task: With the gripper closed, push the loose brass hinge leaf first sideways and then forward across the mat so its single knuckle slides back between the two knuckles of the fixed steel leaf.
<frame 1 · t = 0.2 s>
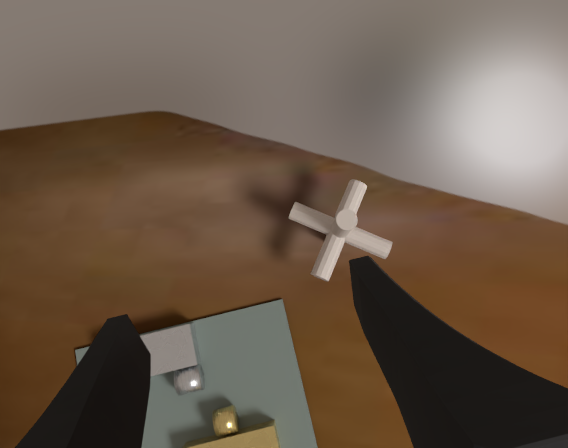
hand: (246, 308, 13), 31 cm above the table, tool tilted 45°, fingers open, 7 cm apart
pipe connector: (334, 238, 45), on the table
brass leaf: (227, 417, 41), resting on mat
steel leaf: (160, 385, 42), resting on mat
mat: (200, 434, 41), on the table
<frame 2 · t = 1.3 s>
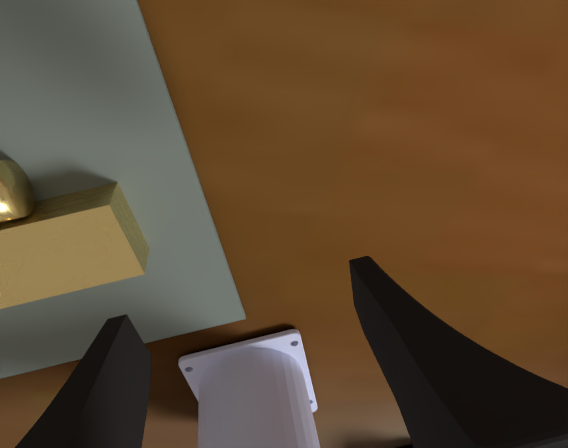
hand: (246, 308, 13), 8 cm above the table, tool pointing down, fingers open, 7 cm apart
brass leaf: (4, 180, 18), resting on mat
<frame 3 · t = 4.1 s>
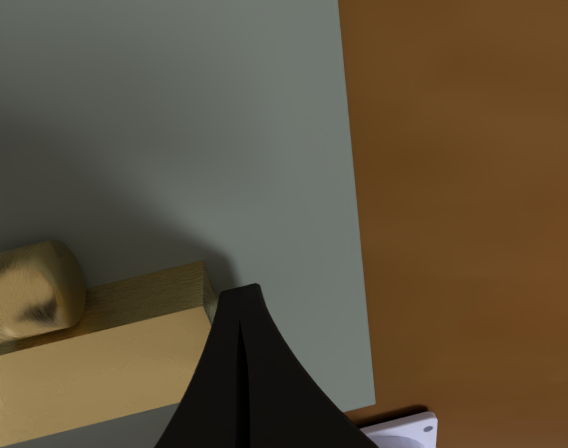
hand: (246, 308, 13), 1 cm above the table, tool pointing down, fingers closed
brass leaf: (41, 263, 12), resting on mat, touching gripper
mat: (17, 292, 13), on the table
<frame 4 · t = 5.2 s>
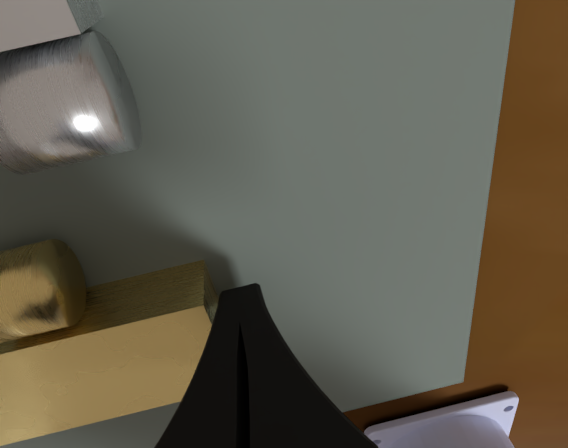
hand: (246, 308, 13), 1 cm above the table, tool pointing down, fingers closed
brass leaf: (41, 262, 12), resting on mat, touching gripper
mat: (151, 259, 13), on the table
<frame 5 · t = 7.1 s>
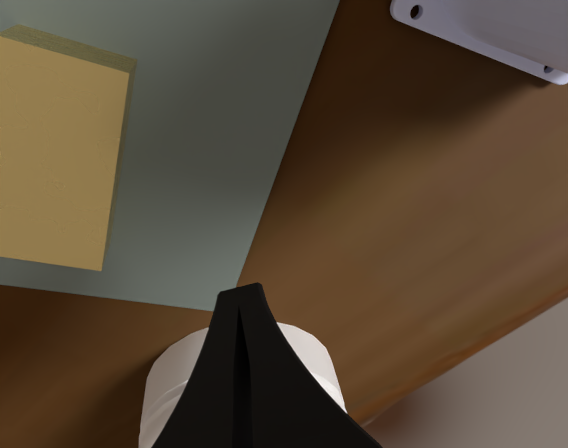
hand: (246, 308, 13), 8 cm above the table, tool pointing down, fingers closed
honey pot: (242, 381, 29), on the table
mat: (13, 65, 15), on the table
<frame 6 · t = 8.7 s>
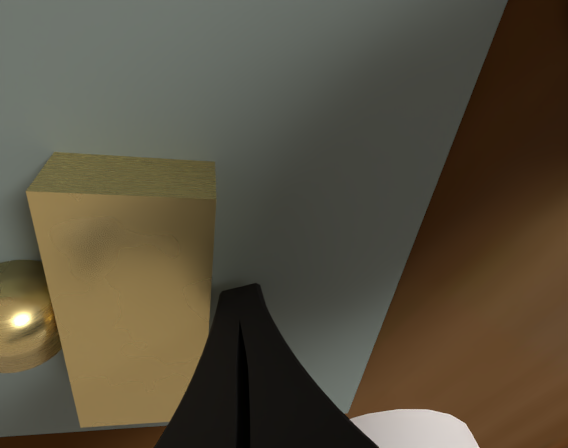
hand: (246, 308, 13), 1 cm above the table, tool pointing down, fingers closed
brass leaf: (31, 285, 13), resting on mat, touching gripper
mat: (59, 200, 11), on the table
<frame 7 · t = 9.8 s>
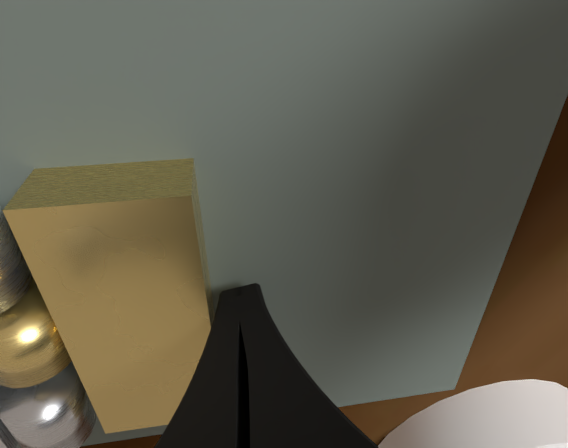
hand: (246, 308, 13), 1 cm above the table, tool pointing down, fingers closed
brass leaf: (39, 301, 13), resting on mat, touching gripper
honey pot: (470, 443, 24), on the table
steel leaf: (26, 314, 13), resting on mat
mat: (189, 214, 12), on the table
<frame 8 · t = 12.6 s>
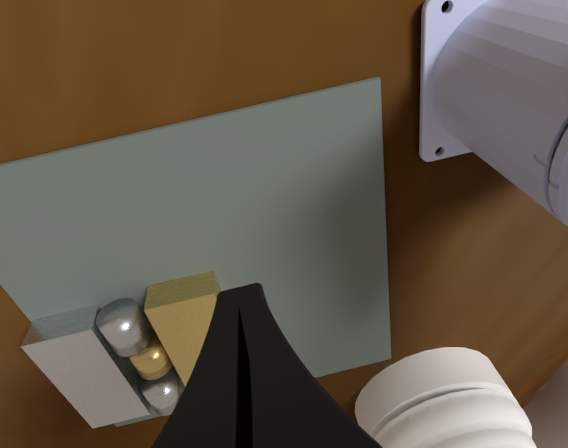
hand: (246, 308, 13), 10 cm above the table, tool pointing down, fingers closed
brass leaf: (153, 338, 27), resting on mat
honey pot: (423, 392, 37), on the table
steel leaf: (147, 345, 27), resting on mat
mat: (216, 291, 26), on the table
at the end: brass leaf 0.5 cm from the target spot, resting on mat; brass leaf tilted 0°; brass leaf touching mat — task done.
